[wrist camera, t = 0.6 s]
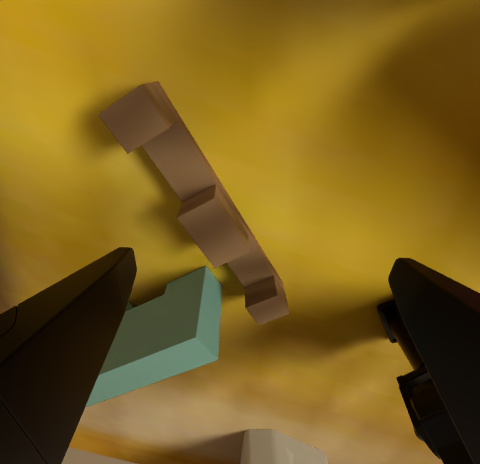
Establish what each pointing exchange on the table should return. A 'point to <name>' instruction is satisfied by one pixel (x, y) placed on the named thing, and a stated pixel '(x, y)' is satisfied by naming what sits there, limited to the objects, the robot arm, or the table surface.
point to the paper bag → (277, 449)
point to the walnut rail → (197, 194)
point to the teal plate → (163, 336)
